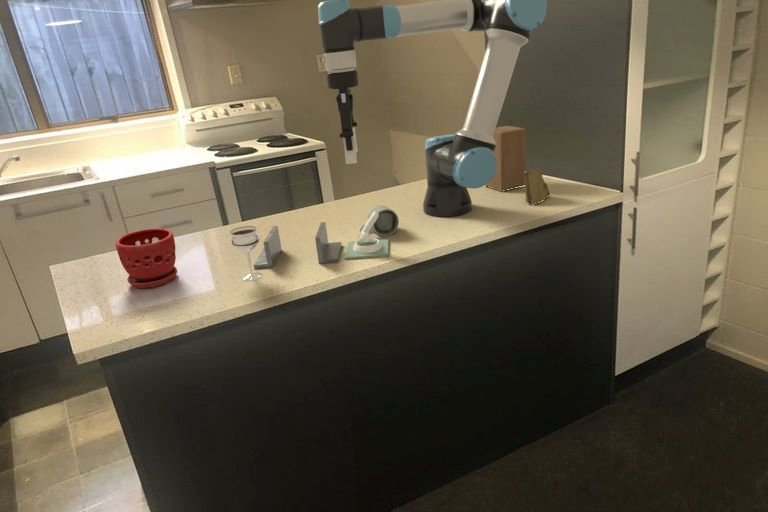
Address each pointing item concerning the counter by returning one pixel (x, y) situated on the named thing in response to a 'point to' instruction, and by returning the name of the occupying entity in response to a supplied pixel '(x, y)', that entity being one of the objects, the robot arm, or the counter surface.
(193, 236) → the counter surface
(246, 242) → the wineglass
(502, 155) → the wooden block
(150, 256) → the plant pot
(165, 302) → the counter surface
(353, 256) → the mat
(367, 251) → the white curved piece
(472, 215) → the counter surface
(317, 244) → the dark grey bookends
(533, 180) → the rock
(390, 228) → the ceramic mug
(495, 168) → the robot arm
